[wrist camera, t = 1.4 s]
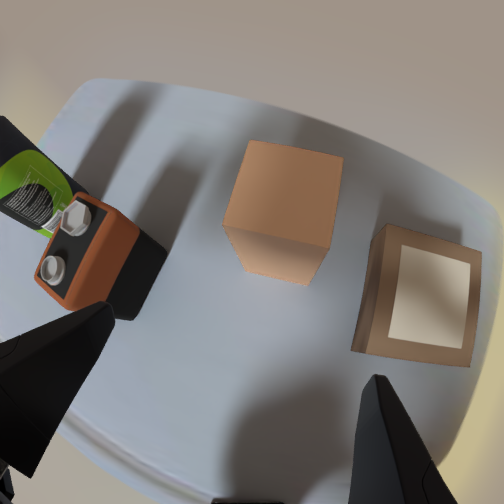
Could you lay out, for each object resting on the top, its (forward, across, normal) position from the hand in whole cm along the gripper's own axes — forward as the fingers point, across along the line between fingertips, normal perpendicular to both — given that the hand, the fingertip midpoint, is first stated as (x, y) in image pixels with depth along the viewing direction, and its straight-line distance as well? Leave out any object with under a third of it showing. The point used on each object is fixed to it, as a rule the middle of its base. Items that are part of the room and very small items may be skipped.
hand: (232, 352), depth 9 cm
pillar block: (+15, 0, +4) cm, 15 cm away
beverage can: (+14, +22, +5) cm, 26 cm away
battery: (+11, +12, +8) cm, 18 cm away
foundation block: (+13, -12, +6) cm, 18 cm away
